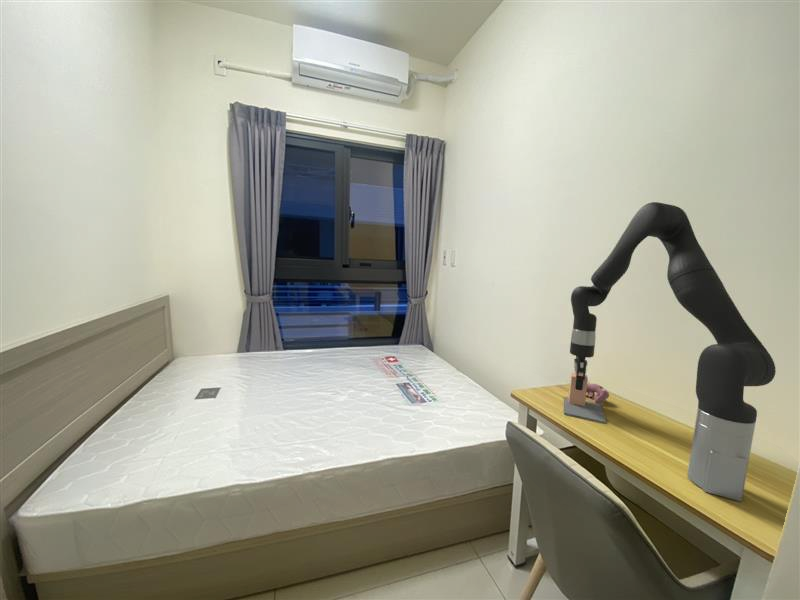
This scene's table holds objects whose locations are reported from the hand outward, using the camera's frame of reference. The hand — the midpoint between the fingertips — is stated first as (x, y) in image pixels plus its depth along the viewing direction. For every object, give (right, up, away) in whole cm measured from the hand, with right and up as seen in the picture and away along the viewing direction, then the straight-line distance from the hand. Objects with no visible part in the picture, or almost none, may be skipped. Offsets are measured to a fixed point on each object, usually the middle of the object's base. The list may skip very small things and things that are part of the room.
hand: (578, 386), depth 116 cm
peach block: (0, -6, +1) cm, 6 cm away
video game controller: (+9, -7, +6) cm, 13 cm away
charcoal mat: (-1, -7, -4) cm, 8 cm away
